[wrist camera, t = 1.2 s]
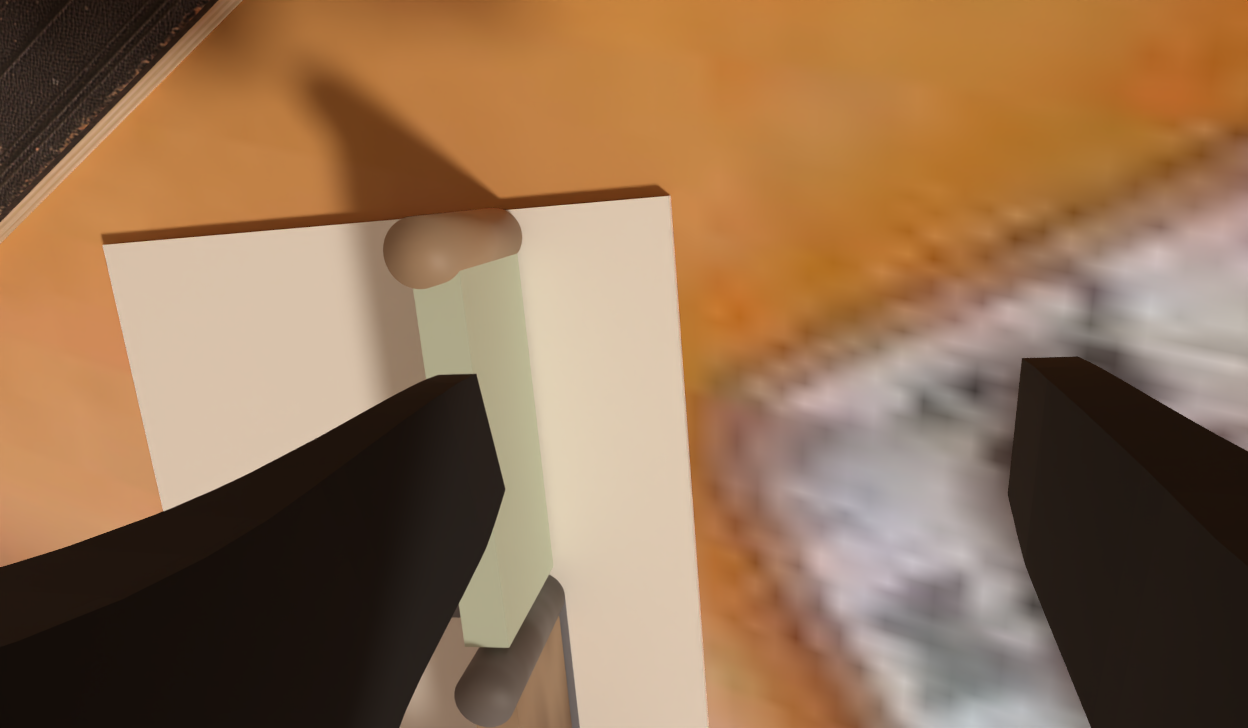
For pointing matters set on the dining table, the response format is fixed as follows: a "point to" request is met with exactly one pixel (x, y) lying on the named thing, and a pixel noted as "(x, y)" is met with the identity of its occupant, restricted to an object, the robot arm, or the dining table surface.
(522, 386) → the fence panel
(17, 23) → the hardcover book
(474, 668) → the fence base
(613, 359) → the card
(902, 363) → the dining table surface
